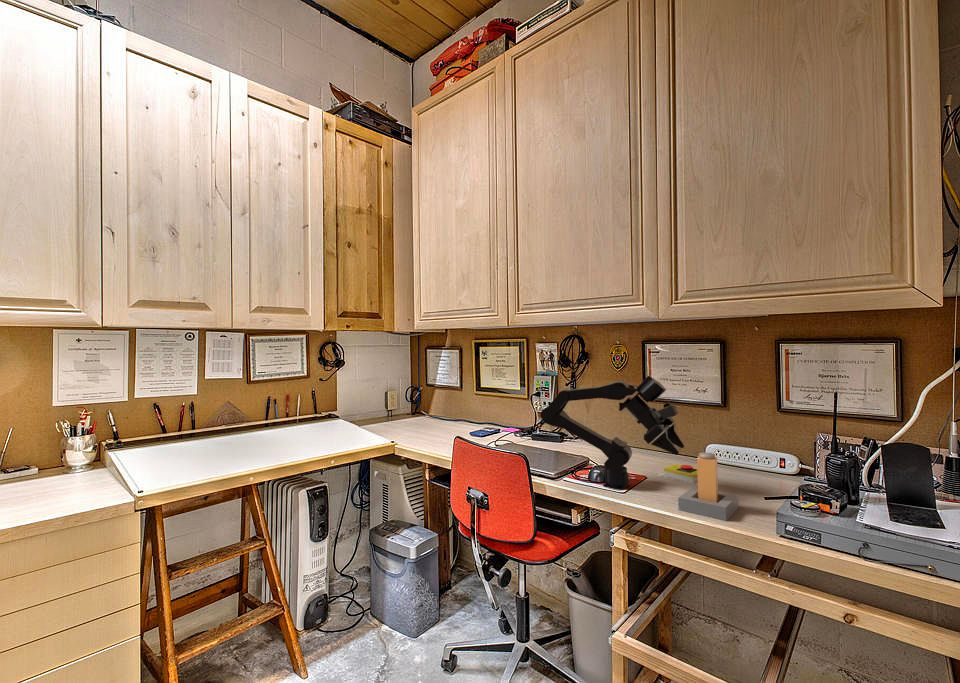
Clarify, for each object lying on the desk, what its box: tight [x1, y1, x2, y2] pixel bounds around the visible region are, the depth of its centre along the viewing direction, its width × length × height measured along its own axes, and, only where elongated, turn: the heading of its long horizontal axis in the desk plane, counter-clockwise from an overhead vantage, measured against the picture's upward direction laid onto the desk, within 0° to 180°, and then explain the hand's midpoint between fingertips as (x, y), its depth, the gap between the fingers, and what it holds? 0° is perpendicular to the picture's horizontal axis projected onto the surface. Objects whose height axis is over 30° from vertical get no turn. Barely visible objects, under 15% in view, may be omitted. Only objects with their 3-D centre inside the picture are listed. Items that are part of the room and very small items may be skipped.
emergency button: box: [657, 463, 698, 486], centre depth 155 cm, size 9×4×15 cm
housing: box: [677, 486, 739, 522], centre depth 126 cm, size 12×12×4 cm
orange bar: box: [696, 451, 719, 503], centre depth 126 cm, size 4×4×14 cm
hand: (680, 450), depth 138 cm, fingers open, 9 cm apart
